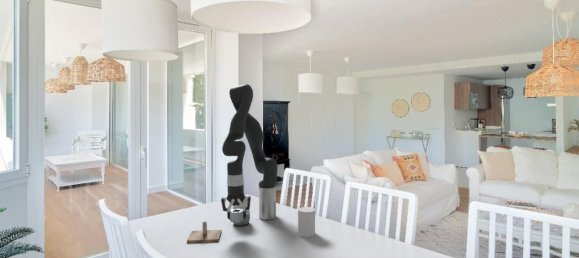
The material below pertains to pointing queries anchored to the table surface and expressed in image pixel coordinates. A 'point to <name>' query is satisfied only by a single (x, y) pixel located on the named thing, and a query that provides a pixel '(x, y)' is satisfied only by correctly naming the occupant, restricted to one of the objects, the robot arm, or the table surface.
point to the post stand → (204, 235)
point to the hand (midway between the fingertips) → (236, 218)
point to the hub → (236, 215)
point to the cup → (306, 222)
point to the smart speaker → (247, 219)
